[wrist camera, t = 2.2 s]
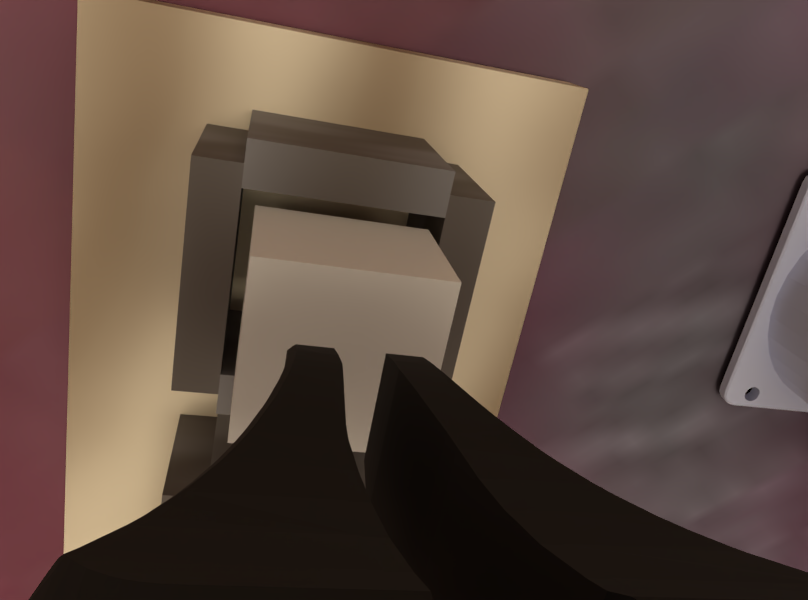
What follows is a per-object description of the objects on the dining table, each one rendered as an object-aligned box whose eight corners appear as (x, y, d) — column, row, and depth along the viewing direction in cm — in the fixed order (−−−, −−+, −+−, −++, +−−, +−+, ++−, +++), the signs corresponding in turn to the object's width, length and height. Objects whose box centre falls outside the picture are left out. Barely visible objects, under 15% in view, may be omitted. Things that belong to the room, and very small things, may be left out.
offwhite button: (428, 229, 15) (461, 282, 12) (396, 378, 17) (420, 456, 14) (255, 204, 14) (250, 255, 12) (235, 363, 16) (227, 442, 13)
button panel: (566, 81, 20) (654, 110, 15) (389, 744, 29) (410, 885, 24) (93, -12, 17) (27, -11, 12) (69, 751, 26) (25, 911, 22)
